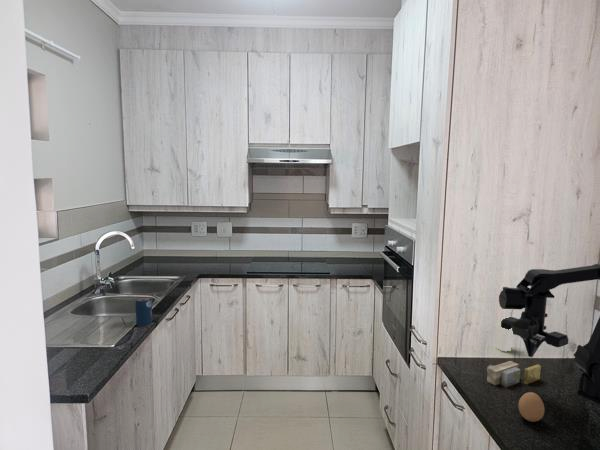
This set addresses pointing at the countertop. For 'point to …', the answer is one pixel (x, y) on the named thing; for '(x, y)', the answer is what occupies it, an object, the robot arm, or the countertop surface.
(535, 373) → the block
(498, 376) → the block
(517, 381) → the grey block with shaft
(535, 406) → the egg
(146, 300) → the soda can
